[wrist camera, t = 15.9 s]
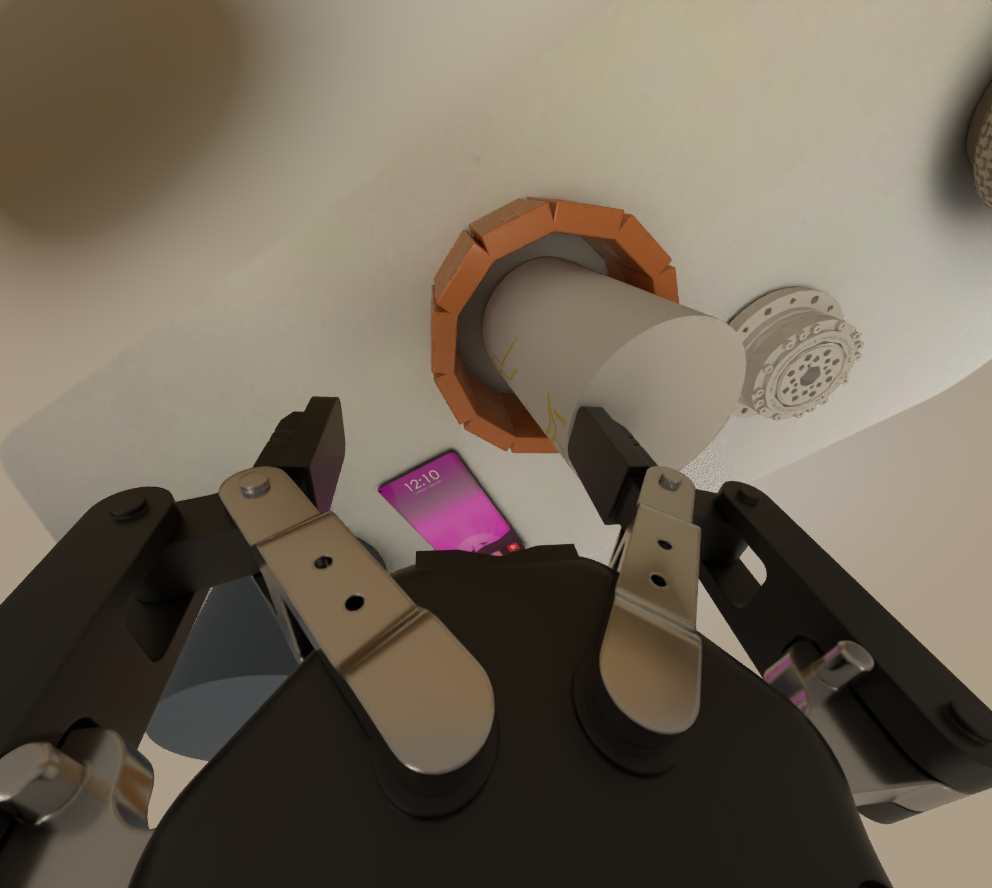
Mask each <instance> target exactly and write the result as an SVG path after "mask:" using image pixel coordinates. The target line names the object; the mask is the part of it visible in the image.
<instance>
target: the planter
mask: <svg viewBox="0 0 992 888" xmlns="http://www.w3.org/2000/svg"><path fill="white" fill-rule="evenodd" d="M966 150H967V155H968V159H969V161H970V163H971V164H972V166H974V180H975V184H976V189H977V192H978V194H979V196H980V197H981V199H982V201H983V202H984V204H985V206H987V207H988V208H989V209H990V210H991V211H992V81H991V82H990V84H989V85H988V87H987V89H986V91H985V92H984V94H983V96H982V97H981V99H980V101H979V104H978V106H977V108H976V110H975V112H974V115H973V117H972V120H971V123H970V126H969V130H968V135H967V141H966Z"/></svg>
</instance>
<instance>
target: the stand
mask: <svg viewBox="0 0 992 888" xmlns="http://www.w3.org/2000/svg"><path fill="white" fill-rule="evenodd" d="M357 539H358V538H357ZM358 540H359V541H360V542H361V543H362V545H363V546H364V547H365V548H366V549H367V550H368V551H369V552H370V554H371V555H372V556H373V557H374V558H375V559H376V560H377V561H378V563H379V564H380V565H381V566H382V567H383V568H384V569H385V570H386V567H385V564H384V562H383V560H382V558H381V557H380V556H379V554H378V553H377V552H376V551H375V550H374V549H373V548H372V547H371V546H369V545H368V544H366V543H365V542H364V541H362V540H360V539H358ZM298 666H299V664H298V662H297V661H296V659H295V657H294V655H293V653H292V651H291V649H290V647H289V645H288V643H287V641H286V638H285V636H284V634H283V632H282V630H281V628H280V626H279V625H278V623H277V621H276V619H275V618H274V616H273V614H272V613H271V611H270V609H269V607H268V606H267V604H266V602H265V601H264V599H263V597H262V596H261V594H260V592H259V590H258V589H257V587H256V585H255V584H254V582H253V580H252V578H251V577H250V576H247V577H244V578H240V579H237V580H234V581H230V582H227V583H224V584H220V585H217V586H214V587H213V589H212V591H211V593H210V595H209V597H208V599H207V601H206V603H205V604H204V606H203V608H202V610H201V612H200V614H199V616H198V618H197V620H196V622H195V624H194V626H193V627H192V629H191V631H190V633H189V635H188V638H187V640H186V642H185V644H184V646H183V649H182V651H181V653H180V655H179V658H178V660H177V662H176V664H175V666H174V669H173V671H172V673H171V675H170V678H169V680H168V682H167V684H166V686H165V689H164V691H163V693H162V695H161V698H160V700H159V702H158V704H157V706H156V709H155V711H154V713H153V715H152V718H151V720H150V722H149V724H148V726H147V729H146V733H147V735H148V736H149V738H150V739H151V740H152V741H154V742H155V743H156V744H158V745H159V746H161V747H162V748H164V749H167V750H169V751H171V752H174V753H177V754H179V755H183V756H186V757H190V758H195V759H200V760H206V761H210V760H211V759H212V758H213V757H214V756H215V754H216V753H217V752H218V751H219V750H220V749H221V748H222V747H223V746H224V745H225V744H226V743H227V742H228V741H229V740H230V738H231V737H232V736H233V735H234V734H235V733H236V732H237V731H238V730H239V729H240V728H241V727H242V726H243V725H244V723H245V722H246V721H247V720H248V719H249V718H250V717H251V716H252V715H253V714H254V713H255V712H256V711H257V710H258V708H259V707H260V706H261V705H262V704H263V703H264V702H265V701H266V700H267V699H268V698H269V697H270V696H271V695H272V693H273V692H274V691H275V690H276V689H277V688H278V687H279V686H280V685H281V684H282V683H283V682H284V681H285V680H286V679H287V677H288V676H289V675H290V674H291V673H292V672H293V671H294V670H295V669H296V668H297V667H298Z"/></svg>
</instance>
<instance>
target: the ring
mask: <svg viewBox="0 0 992 888" xmlns="http://www.w3.org/2000/svg"><path fill="white" fill-rule="evenodd" d="M469 227H470V229H471V232H472V234H473V237H472V236H471V235H470V234H469V233H468V232H466V231H465V230H463V231H462V232H461V234H460V236H459V237H458V239H457V241H456V242H455V244H454V246H453V247H452V249H451V251H450V252H449V254H448V256H447V257H446V259H445V260H444V262H443V264H442V265H441V267H440V269H439V270H438V272H437V274H436V275H435V277H434V283H435V285H432V298H431V370H432V373H434V382H435V383H436V385H437V387H438V388H439V390H440V392H441V394H442V395H443V397H444V399H445V400H446V402H447V404H448V406H449V407H450V409H451V411H452V412H453V414H454V416H455V417H456V419H457V421H458V423H459V424H462V423H464V429H465V430H467V431H469V432H471V433H473V434H474V435H476V436H478V437H480V438H482V439H484V440H486V441H488V442H489V443H491V444H493V445H495V446H497V447H499V448H501V449H502V450H504V451H507V450H508V449H509V448H511V451H512V452H513V453H559V451H558V450H557V449H556V447H555V446H554V445H553V443H552V442H551V441H550V439H549V438H548V437H547V435H546V434H545V433H544V431H543V430H542V429H541V427H540V426H539V425H538V423H537V422H536V421H535V420H534V418H533V417H532V416H531V414H530V413H529V412H528V410H527V409H526V408H525V406H524V405H523V404H522V402H521V401H520V400H519V398H518V397H517V396H516V394H501V393H499V392H498V391H496V390H495V389H493V388H491V387H490V386H488V385H486V384H485V383H483V382H482V381H480V380H478V379H477V378H475V377H474V376H472V375H470V374H469V373H468V372H467V370H466V368H465V366H464V364H463V362H462V360H461V358H460V356H459V354H458V353H457V351H456V341H457V325H458V315H459V314H460V312H461V311H462V309H463V308H464V306H465V305H466V303H467V302H468V300H469V299H470V297H471V296H472V294H473V293H474V291H475V290H476V288H477V287H478V285H479V284H480V282H481V280H482V279H483V277H484V276H485V274H486V273H487V271H488V270H489V268H490V267H491V265H492V264H493V262H494V261H496V260H498V259H500V258H502V257H504V256H506V255H508V254H510V253H512V252H514V251H516V250H518V249H520V248H522V247H524V246H526V245H528V244H530V243H532V242H534V241H536V240H538V239H540V238H542V237H544V236H546V235H548V234H550V233H552V232H559V233H567V234H574V235H581V236H582V237H583V238H584V239H585V240H586V241H587V242H588V243H589V244H590V245H591V246H592V247H593V248H594V249H595V250H596V251H597V252H598V253H599V254H600V255H601V256H602V257H603V258H604V259H605V260H606V262H607V267H608V272H609V277H611V278H613V279H616V280H618V281H621V282H624V283H626V284H629V285H631V286H634V287H637V288H639V289H642V290H644V291H647V292H649V293H652V294H655V295H657V296H660V297H662V298H665V299H668V300H670V301H673V302H675V303H678V304H679V299H678V290H677V280H676V271H675V267H673V266H670V265H668V264H669V263H670V262H671V258H670V257H669V255H668V254H667V253H666V252H665V251H664V250H663V249H662V248H661V246H660V245H659V244H658V243H657V242H656V241H655V240H654V239H653V237H652V236H651V235H650V234H649V233H648V232H647V231H646V230H645V228H644V227H643V226H642V225H641V224H640V223H639V222H638V221H637V219H636V218H635V217H634V216H633V215H631V214H624V210H622V209H616V208H609V207H602V206H596V205H589V204H583V203H576V202H570V201H563V200H555V199H545V198H534V197H527V199H517V200H515V201H513V202H511V203H509V204H507V205H505V206H503V207H501V208H500V209H498V210H496V211H494V212H492V213H490V214H488V215H486V216H484V217H482V218H480V219H478V220H476V221H474V222H472V223H470V224H469Z"/></svg>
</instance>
